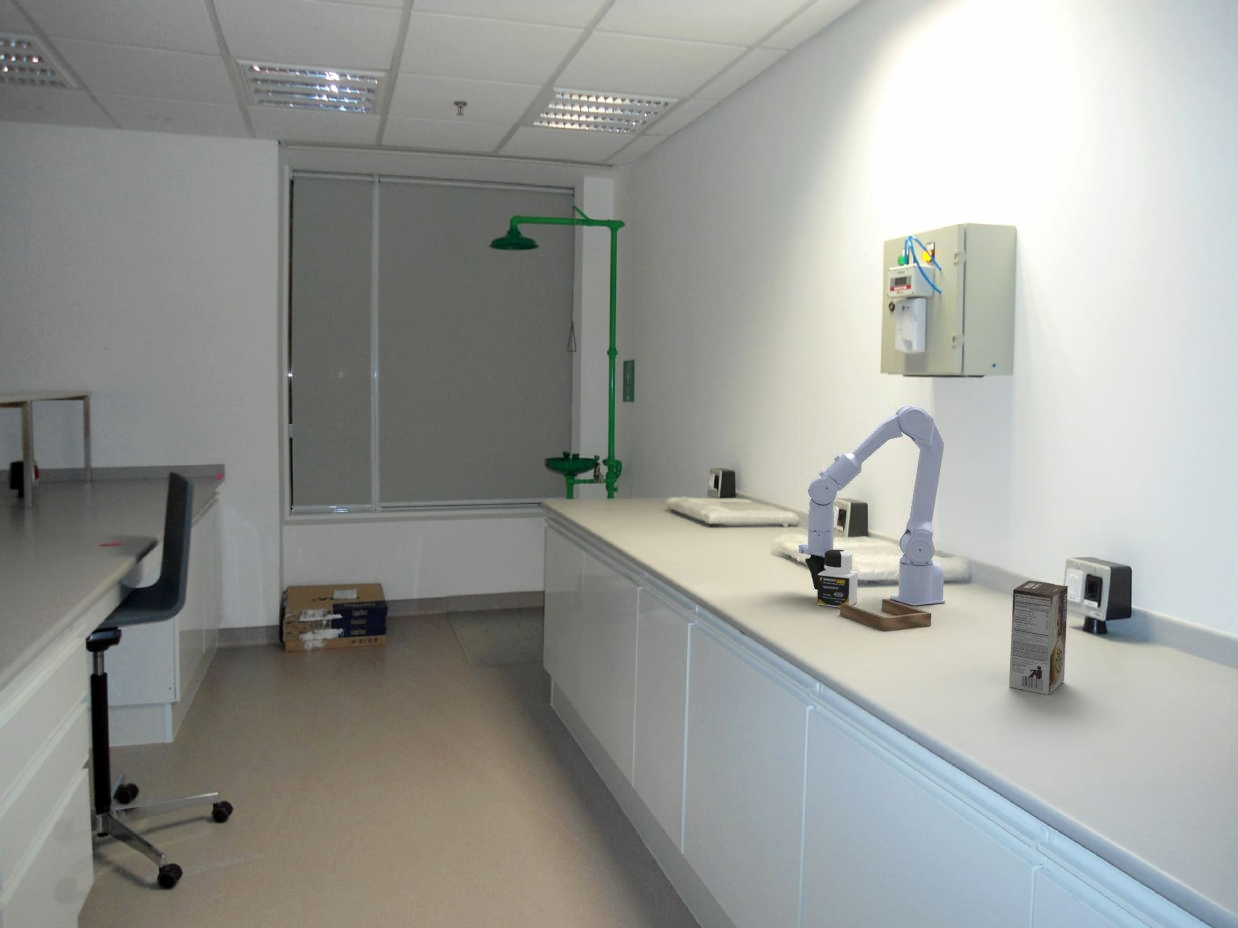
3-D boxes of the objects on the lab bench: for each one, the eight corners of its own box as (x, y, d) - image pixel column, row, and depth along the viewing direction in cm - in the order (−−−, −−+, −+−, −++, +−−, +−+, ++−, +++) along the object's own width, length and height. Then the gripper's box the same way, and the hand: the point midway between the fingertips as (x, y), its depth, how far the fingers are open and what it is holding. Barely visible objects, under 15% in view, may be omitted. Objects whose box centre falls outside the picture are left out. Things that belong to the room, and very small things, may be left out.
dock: (885, 610, 201) (885, 598, 201) (930, 625, 188) (931, 613, 188) (839, 615, 196) (840, 603, 196) (883, 630, 184) (883, 618, 183)
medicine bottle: (816, 605, 205) (818, 551, 204) (826, 598, 212) (827, 546, 211) (848, 608, 202) (850, 554, 201) (857, 602, 208) (858, 549, 207)
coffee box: (1024, 674, 156) (1028, 579, 155) (1065, 681, 152) (1069, 584, 151) (1007, 687, 149) (1011, 588, 148) (1049, 695, 145) (1054, 594, 144)
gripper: (788, 526, 217) (786, 584, 218) (825, 536, 204) (823, 597, 205) (813, 525, 220) (812, 582, 221) (851, 534, 206) (850, 594, 208)
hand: (819, 589), depth 213 cm, fingers closed
